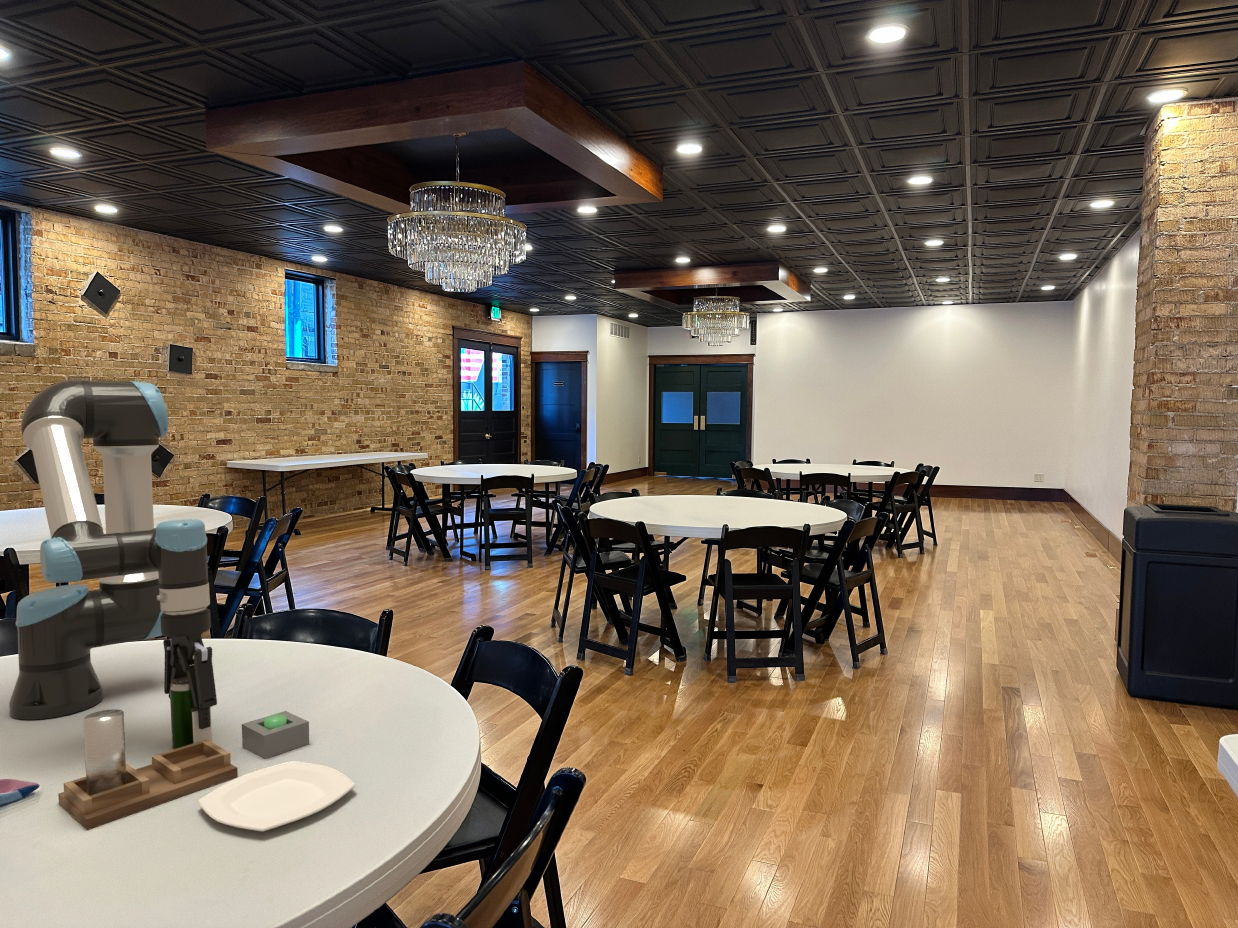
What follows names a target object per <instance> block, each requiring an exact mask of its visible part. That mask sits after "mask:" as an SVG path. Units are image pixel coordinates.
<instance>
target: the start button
mask: <svg viewBox="0 0 1238 928" xmlns="http://www.w3.org/2000/svg"><path fill="white" fill-rule="evenodd" d="M276 714H277V713H276ZM267 716H268V717H267ZM267 716H265V717H266V718H265V719H264V727H265V728H267V729H269V730H271V729H274V728H277V727H280V726H283V725H286V724H287V721H286V715H282V714H277V715H274V714H271V716H270V715H267Z"/></svg>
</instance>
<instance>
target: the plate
mask: <svg viewBox="0 0 1238 928" xmlns="http://www.w3.org/2000/svg"><path fill="white" fill-rule="evenodd" d="M355 787H357V784H356V783H355V782H354V781H353V780H352V779H350V778H349V777H348V776H347V775H346V774H344V773H342V772H341V771H339V770H337V769H335V768H332V767H330V766H326V765H322V764H317V763H310V762H303V761H297V760H289V761H286V762H282V763H279V764H275V765H270V766H268V767H264V768H261V769H257V770H254V771H251V772H249V773H246V774H244V775H240V776H239V777H235V778H233V779H231V780H230V781H228V782H226V783H224V784H222V785H221V786H219V787H217V788H215V789H214V790H212V791H211V792H209V793H208V794H206V795H203V796H202V797H201V798H199V799H198V800H197V803H198V804H199V806H200V807H201V809H202V811H204V813H205V814H206V815H207V816H208V817H210V818H211V819H213V820H214V821H215V822H218V823H219V824H220V823H221V824H223V825H226V826H230V827H233V828H234V827H235V828H238V829H244V830H250V831H256V832H266V831H269V830H273V829H276V828H279V827H282V826H285V825H289V824H290V823H293V822H296V821H299V820H301V819H304V818H307V817H309V816H311V815H314V814H316V813H318V812H320V811H322V810H324V809H326V808H328V807H329V806H331V805H332V804H334V803H336V802H337V801H339V800H340V799H341V798H342V797H344V796H345V795H346V794H348V793H349V792H351V790H352V789H354V788H355Z"/></svg>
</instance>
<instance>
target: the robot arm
mask: <svg viewBox="0 0 1238 928" xmlns="http://www.w3.org/2000/svg"><path fill="white" fill-rule="evenodd" d="M164 399H165V398H164V397H163V395H162V393H161V390H160V389H159V388H158V387H157V386H156V385H155V384H153V383H150V382H143V381H142V382H141V381H133V380H129V381H126V380H125V381H124V380H121V381H120V380H80V379H72V380H71V379H70V380H69V379H68V380H63V381H59V382H57V383H54V384H51V385H49V386H47V387H45V389H43V390H41V391H40V392H38V394H36V396H34V398H32V400H30V402H29V403H28V405H27V406H26V408H25V411H24V412H23V415H22V419H21V423H20V425H21V427H20V428H21V429H20V431H21V437H22V440H23V443H24V445H25V446H26V447H27V448H28V449H29V450H31V452H32V455H33V460H34V465H35V468H36V469H35V470H36V475H37V478H38V479H37V480H38V484H39V488H40V493H41V496H42V502H43V507H44V510H45V511H44V512H45V515H46V519H47V524H48V529H49V533H50V538H47V539H44V540H43V541H42V542H41V544H40V546H39V548H40V549H39V558H40V559H39V560H40V561H39V562H40V563H39V564H40V566H41V567H40V570H41V574H42V577H43V580H45V582H47V583H51V584H59V583H61V584H62V583H74V584H65V585H58V586H54V587H50V588H46V589H42V590H40V591H39V590H38V591H36V592H32V593H30V594H29V595H26V596H24V597H23V598H22V599H20V601H18V603H17V606H16V621H15V627H16V629H17V653H18V676H17V679H16V682H15V685H14V689H13V691H12V694H11V697H10V700H9V715H10V716H11V717H12V718H14V719H18V720H27V721H28V720H29V721H30V720H43V719H44V720H45V719H46V720H47V719H51V718H52V719H53V718H58V717H64V716H67V715H71V714H75V713H79V712H82V711H84V710H87V709H90V708H93V707H94V706H96V705H97V704H99V703H101V702H102V700H103V699H104V698H103V697H104V696H103V694H104V693H103V685H102V684H101V682H100V680H99V677H98V675H97V673H96V671H95V668H94V666H93V664H92V661H91V660H92V659H91V650H92V649H95V648H100V647H106V646H112V645H119V644H125V643H129V642H130V643H131V642H135V641H142V642H143V641H146V640H147V639H152V638H153V639H154V638H157V637H161V636H162V637H163V636H164V637H166V639H163V642H162V644H163V651H164V668H163V669H164V673H163V674H164V675H163V677H164V679H163V680H164V681H163V682H164V683H163V685H164V686H163V687H164V689H163V692H164V694H165V695H168V699H169V700H170V687H171V682H172V681H173V680H174V679H177V678H181V677H185V676H188V681H189V685H190V690H191V694H192V699H193V703H194V708H192V709H190V711H191V712H192V721H193V740H194V743H197V742H200V741H203V740H206V739H207V740H209V741H210V742H212V743H213V731H212V730H213V729H212V728H213V727H212V714H211V713H212V712H211V708H212V707H214V706H217V704H218V699H217V690H216V682H215V676H214V675H215V674H214V667H213V648H212V647H211V646H208V647H205V645H204V642H203V636H202V634H204V633H205V632H208V631H209V630H210V629H211V627H212V625H211V623H212V622H211V610H210V609H209V608H208V606H210V605H211V597H210V596H211V595H210V582H209V570H208V569H209V567H208V550H207V549H208V548H207V544H208V536H207V532H206V525H205V522H204V521H202V520H201V519H198V518H197V519H196V518H195V519H190V518H189V519H187V518H185V519H175V520H166V521H161V522H160V523H157V525H156V527H155V525H154V522H155V521H154V499H153V498H154V497H153V495H154V494H153V476H152V475H153V472H152V471H153V470H152V454H153V452H155V450H157V448H159V446H160V440H159V438H160V439H162V438H165V437H166V436H167V435H168V432H169V418H168V417H169V416H168V411H167V407H166V403H165V400H164ZM84 439H90V440H91V439H92V446H93V449H94V450H95V451H97V452H98V453H99V454H101V456H102V470H103V471H102V473H103V494H104V496H103V497H104V498H103V499H104V515H105V516H104V517H105V518H104V519H105V520H104V521H105V532H104V527H103V524H102V520H101V516H100V512H99V510H98V505H97V501H96V497H95V493H94V489H93V487H92V485H93V484H92V482H91V480H90V475H89V471H88V468H87V463H86V460H85V454H84V451H83V448H82V444H81V443H82V441H83V440H84ZM95 579H96V580H97V579H99V580H98V583H99V584H98V585H99V586H98V587H99V588H98V589H93V590H92V589H91V590H90V589H89V588H88V586H87V585H86V584H83V583H79V582H80V581H87V580H88V581H89V580H95Z"/></svg>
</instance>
